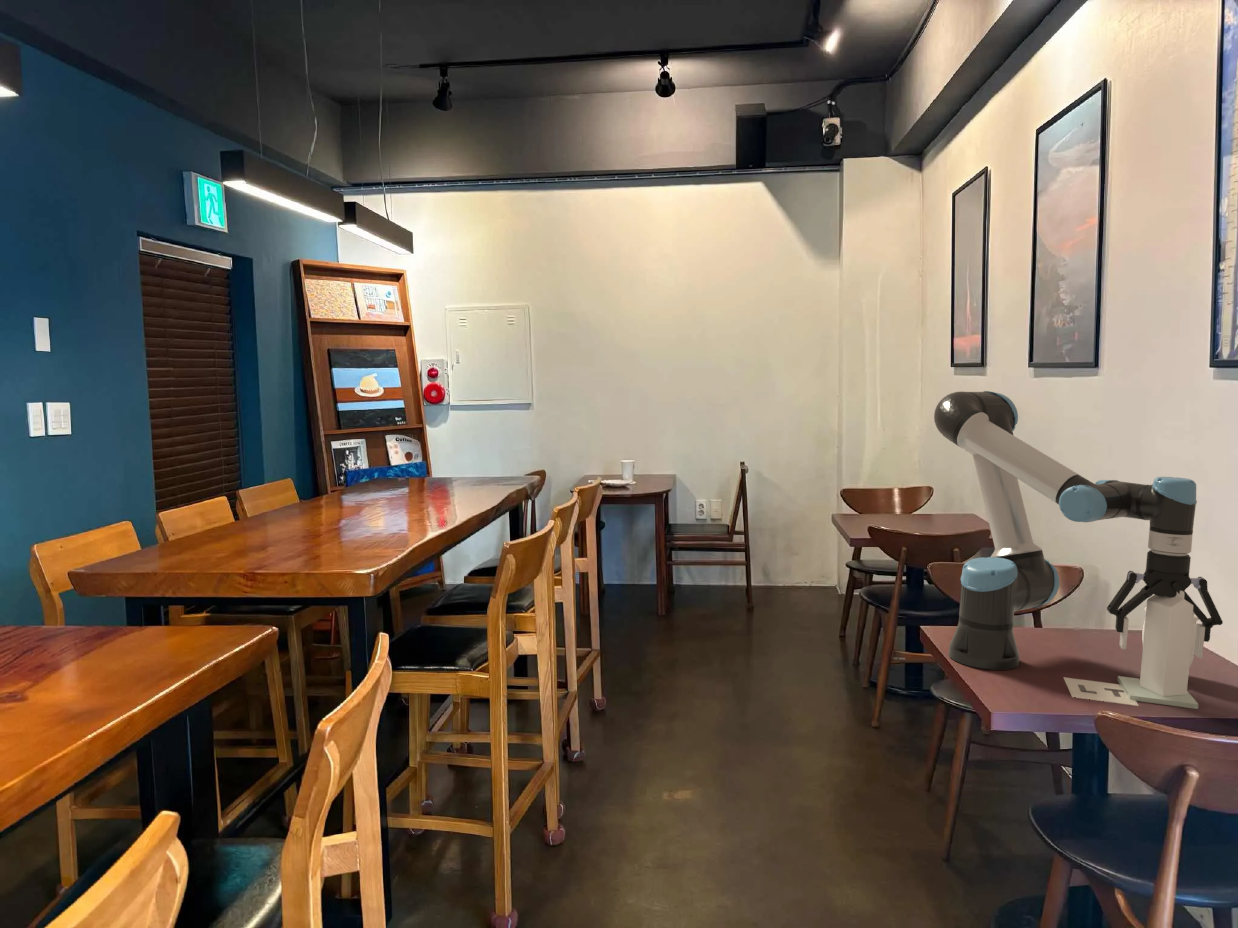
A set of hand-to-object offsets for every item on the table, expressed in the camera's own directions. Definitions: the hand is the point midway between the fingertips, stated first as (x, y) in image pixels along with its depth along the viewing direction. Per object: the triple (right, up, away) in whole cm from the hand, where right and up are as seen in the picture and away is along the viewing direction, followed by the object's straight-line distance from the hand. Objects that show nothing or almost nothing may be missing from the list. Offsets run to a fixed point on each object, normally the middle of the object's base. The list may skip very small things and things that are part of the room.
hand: (1159, 651), depth 174 cm
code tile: (-12, -9, +2) cm, 15 cm away
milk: (+1, -8, 0) cm, 8 cm away
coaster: (0, -9, +1) cm, 9 cm away
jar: (+9, -8, +12) cm, 18 cm away
